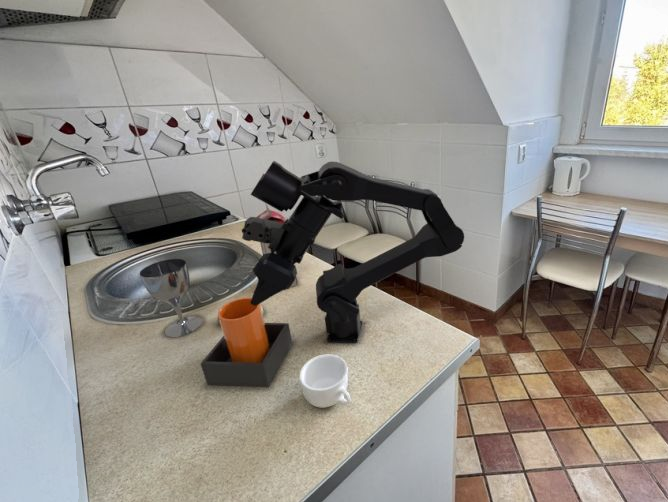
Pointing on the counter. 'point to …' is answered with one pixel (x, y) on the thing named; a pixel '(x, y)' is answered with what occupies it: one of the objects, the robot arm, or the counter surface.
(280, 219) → the juice carton
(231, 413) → the counter surface
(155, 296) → the wine glass
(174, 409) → the counter surface
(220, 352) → the basket
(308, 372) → the teacup
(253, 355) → the orange cup
